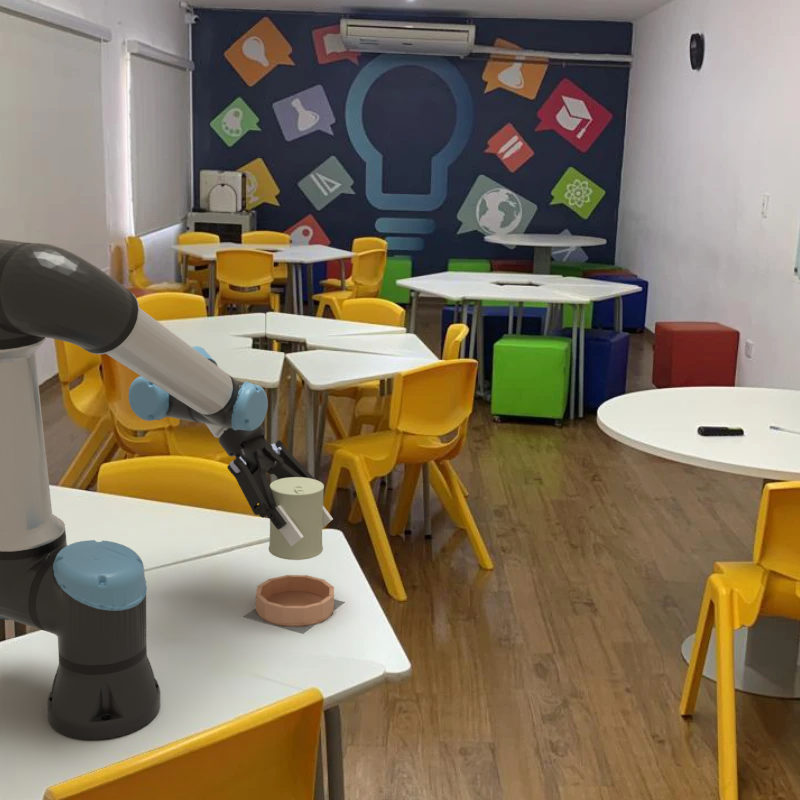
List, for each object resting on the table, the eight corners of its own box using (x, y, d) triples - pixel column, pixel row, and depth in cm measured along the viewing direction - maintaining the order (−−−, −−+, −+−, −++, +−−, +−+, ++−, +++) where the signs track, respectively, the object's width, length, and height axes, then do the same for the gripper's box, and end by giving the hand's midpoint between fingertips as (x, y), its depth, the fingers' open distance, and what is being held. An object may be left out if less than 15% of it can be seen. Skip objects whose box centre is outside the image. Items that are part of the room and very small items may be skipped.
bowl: (307, 633, 161) (308, 614, 160) (240, 614, 166) (240, 596, 165) (347, 603, 172) (347, 585, 171) (283, 586, 178) (284, 569, 177)
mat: (303, 635, 161) (303, 633, 161) (242, 618, 166) (242, 616, 166) (345, 604, 173) (345, 602, 173) (287, 588, 178) (287, 586, 178)
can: (272, 562, 161) (273, 493, 158) (265, 541, 170) (265, 475, 167) (327, 558, 164) (329, 490, 161) (317, 537, 172) (318, 473, 169)
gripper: (208, 427, 156) (291, 541, 153) (282, 401, 175) (357, 502, 172) (182, 454, 160) (263, 565, 157) (258, 425, 179) (331, 524, 176)
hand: (312, 532), depth 164 cm, fingers closed on can, 9 cm apart
